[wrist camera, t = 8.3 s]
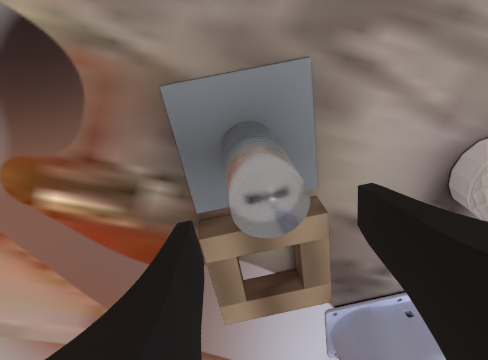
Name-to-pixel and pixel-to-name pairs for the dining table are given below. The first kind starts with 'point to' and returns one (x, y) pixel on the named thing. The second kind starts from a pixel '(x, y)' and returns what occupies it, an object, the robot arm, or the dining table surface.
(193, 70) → the dining table surface
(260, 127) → the steel peg
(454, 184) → the white cup
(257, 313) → the socket block
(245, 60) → the dining table surface
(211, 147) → the slate mat
